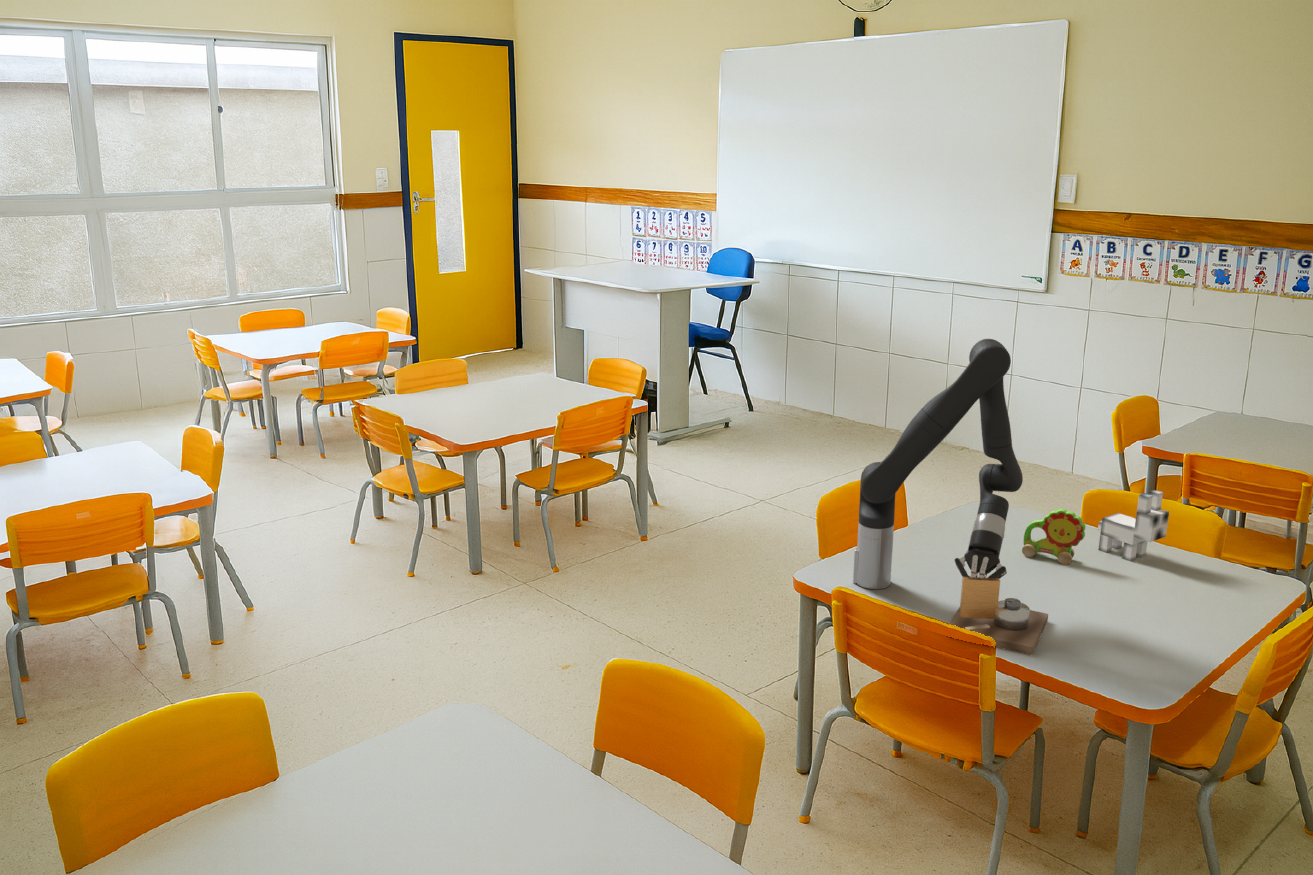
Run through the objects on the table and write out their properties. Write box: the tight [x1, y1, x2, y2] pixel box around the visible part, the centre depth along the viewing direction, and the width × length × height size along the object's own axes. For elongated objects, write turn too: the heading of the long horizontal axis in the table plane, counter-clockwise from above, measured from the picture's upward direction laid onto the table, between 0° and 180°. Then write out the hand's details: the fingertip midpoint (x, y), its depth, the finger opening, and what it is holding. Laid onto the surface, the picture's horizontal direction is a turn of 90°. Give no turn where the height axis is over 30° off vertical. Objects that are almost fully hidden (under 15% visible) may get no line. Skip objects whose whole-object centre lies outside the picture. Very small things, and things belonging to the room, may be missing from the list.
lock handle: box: [959, 576, 1031, 630], centre depth 239 cm, size 16×8×11 cm, turn 82°
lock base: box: [948, 606, 1049, 656], centre depth 241 cm, size 20×20×2 cm
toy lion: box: [1021, 508, 1086, 565], centre depth 281 cm, size 16×5×15 cm, turn 58°
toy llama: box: [1097, 489, 1170, 562], centre depth 283 cm, size 8×18×20 cm, turn 33°
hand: (973, 598), depth 241 cm, fingers closed
